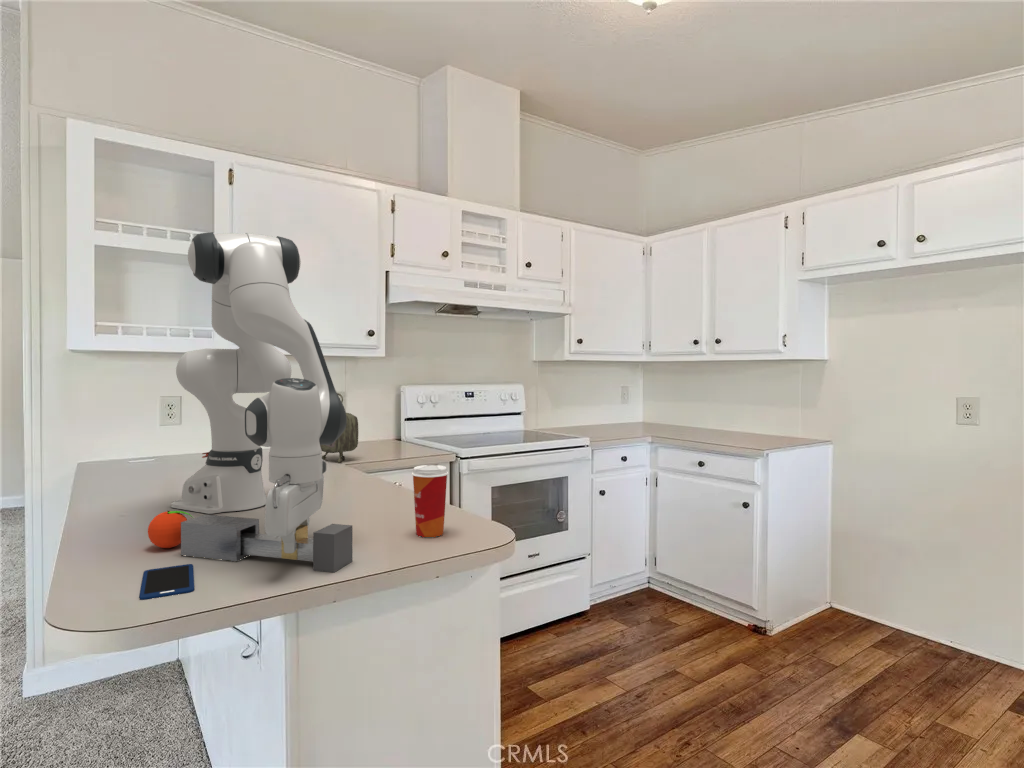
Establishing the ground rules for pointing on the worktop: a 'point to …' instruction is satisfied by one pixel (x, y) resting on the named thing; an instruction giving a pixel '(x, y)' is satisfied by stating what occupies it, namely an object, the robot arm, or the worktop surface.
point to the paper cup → (429, 499)
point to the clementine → (166, 529)
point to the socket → (332, 547)
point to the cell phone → (167, 581)
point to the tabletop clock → (344, 438)
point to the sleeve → (215, 536)
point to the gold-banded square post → (277, 545)
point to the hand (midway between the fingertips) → (295, 547)
